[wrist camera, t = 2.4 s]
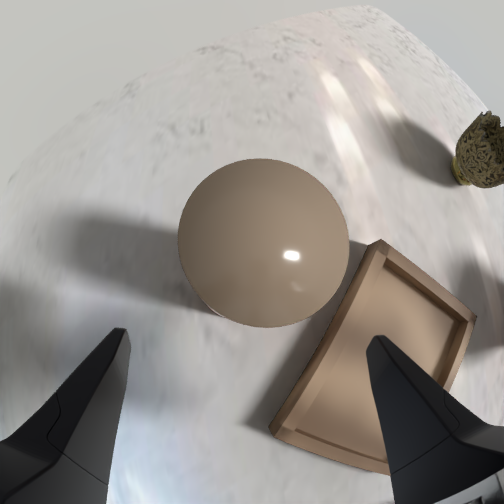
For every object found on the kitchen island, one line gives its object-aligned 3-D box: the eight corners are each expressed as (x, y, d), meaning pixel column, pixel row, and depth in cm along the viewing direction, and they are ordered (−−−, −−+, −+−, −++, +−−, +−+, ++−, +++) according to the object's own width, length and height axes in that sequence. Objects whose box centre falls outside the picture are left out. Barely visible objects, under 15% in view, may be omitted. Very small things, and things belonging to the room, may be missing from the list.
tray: (388, 469, 19) (399, 477, 17) (268, 427, 19) (273, 437, 17) (462, 317, 23) (476, 316, 21) (368, 245, 23) (381, 238, 21)
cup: (456, 210, 25) (510, 183, 17) (425, 148, 26) (471, 110, 18) (485, 195, 27) (531, 170, 19) (458, 141, 28) (498, 110, 20)
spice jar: (249, 335, 20) (299, 360, 8) (182, 293, 20) (142, 263, 8) (287, 269, 21) (372, 215, 10) (223, 229, 21) (239, 132, 10)
